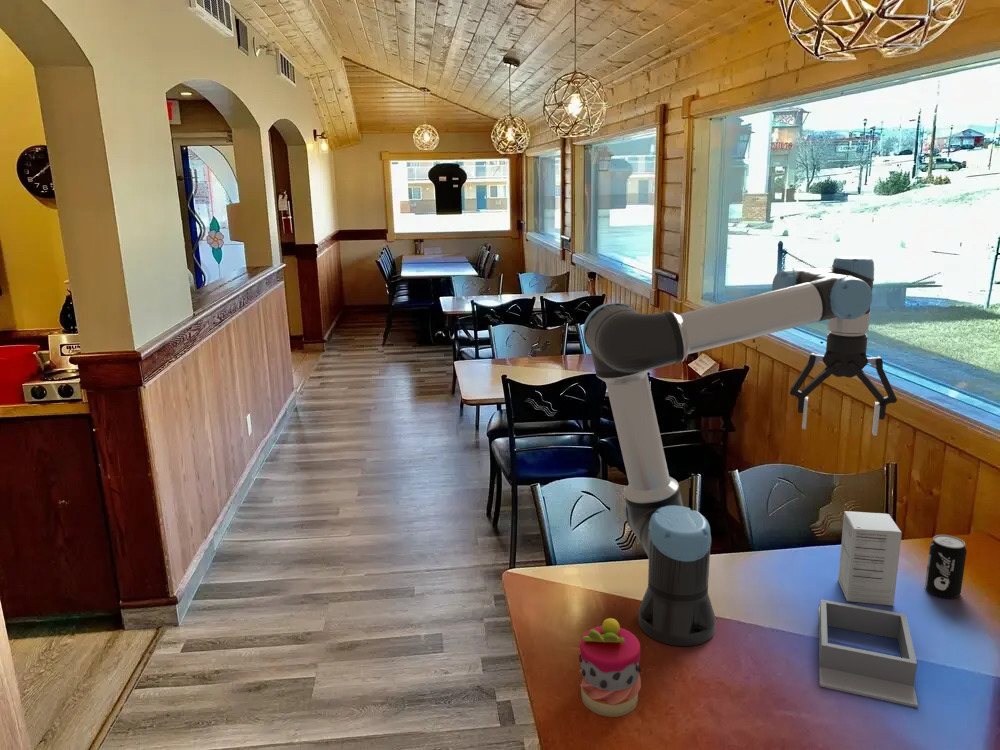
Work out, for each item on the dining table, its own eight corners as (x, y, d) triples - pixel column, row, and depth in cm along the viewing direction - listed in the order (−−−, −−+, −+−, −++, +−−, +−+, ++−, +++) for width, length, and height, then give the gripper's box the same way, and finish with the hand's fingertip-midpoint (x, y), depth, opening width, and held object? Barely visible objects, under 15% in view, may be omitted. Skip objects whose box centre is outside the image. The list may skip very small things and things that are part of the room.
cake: (578, 675, 129) (578, 602, 125) (637, 678, 128) (639, 604, 124) (579, 716, 119) (579, 638, 115) (642, 719, 118) (644, 640, 114)
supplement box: (894, 606, 147) (903, 532, 143) (846, 602, 150) (853, 529, 145) (881, 583, 156) (889, 512, 152) (836, 579, 159) (843, 509, 155)
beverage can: (967, 599, 149) (974, 547, 146) (935, 600, 149) (942, 548, 146) (948, 583, 156) (955, 533, 153) (918, 583, 156) (924, 533, 153)
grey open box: (819, 686, 125) (822, 661, 123) (818, 608, 148) (820, 586, 146) (917, 707, 119) (921, 681, 118) (900, 623, 142) (902, 600, 141)
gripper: (914, 331, 145) (903, 430, 150) (783, 326, 154) (776, 419, 159) (919, 338, 138) (907, 442, 143) (781, 332, 147) (775, 429, 153)
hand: (838, 430), depth 151 cm, fingers open, 13 cm apart
